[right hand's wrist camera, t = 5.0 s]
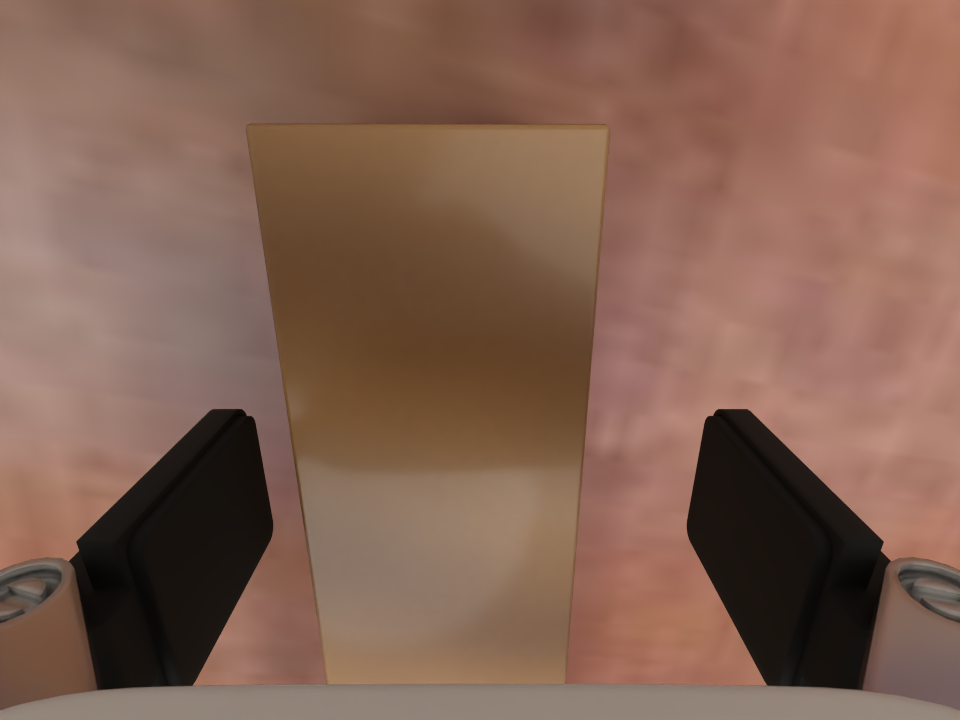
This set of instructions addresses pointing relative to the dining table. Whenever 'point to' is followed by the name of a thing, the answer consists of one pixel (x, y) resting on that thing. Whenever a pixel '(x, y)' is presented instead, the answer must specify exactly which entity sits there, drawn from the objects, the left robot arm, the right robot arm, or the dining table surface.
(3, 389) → the dining table surface
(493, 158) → the bar
